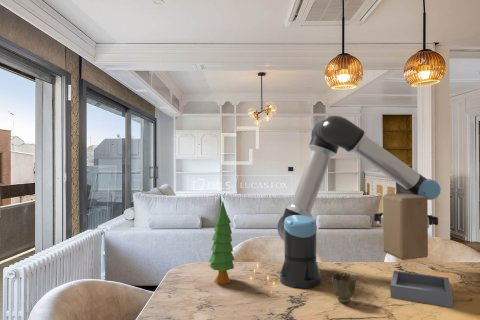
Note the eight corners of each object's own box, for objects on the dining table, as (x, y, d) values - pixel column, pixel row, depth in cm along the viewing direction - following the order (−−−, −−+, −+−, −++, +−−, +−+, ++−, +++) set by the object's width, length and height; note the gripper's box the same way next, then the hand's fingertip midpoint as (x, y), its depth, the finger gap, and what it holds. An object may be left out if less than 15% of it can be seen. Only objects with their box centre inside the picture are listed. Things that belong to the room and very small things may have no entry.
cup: (353, 308, 100) (353, 281, 100) (328, 303, 104) (328, 277, 104) (359, 300, 106) (358, 274, 106) (335, 295, 110) (335, 271, 110)
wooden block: (429, 258, 108) (428, 196, 107) (402, 261, 105) (402, 197, 105) (407, 249, 118) (406, 192, 117) (382, 252, 115) (381, 194, 115)
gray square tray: (390, 297, 108) (390, 285, 108) (394, 281, 123) (393, 270, 123) (452, 307, 100) (452, 294, 100) (448, 289, 115) (448, 277, 115)
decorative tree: (218, 287, 118) (218, 201, 119) (203, 280, 125) (203, 199, 126) (240, 281, 124) (239, 199, 125) (224, 274, 131) (224, 198, 132)
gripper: (443, 226, 125) (448, 237, 106) (371, 221, 136) (364, 230, 117) (442, 206, 125) (447, 213, 106) (371, 203, 136) (364, 209, 118)
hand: (404, 222), depth 112 cm, fingers closed on wooden block, 13 cm apart
